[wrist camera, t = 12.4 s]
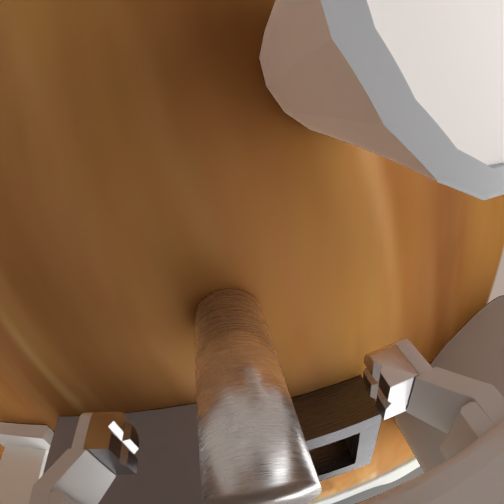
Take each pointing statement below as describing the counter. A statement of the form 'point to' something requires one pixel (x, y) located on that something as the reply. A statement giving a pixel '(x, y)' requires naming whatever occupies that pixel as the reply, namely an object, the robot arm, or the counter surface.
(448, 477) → the robot arm
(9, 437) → the plate
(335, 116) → the white faceted tapered cup
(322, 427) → the rod bracket
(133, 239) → the counter surface
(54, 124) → the counter surface
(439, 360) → the lumpy-topped squat cylinder
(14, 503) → the block
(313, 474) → the rod
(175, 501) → the grey device stand
